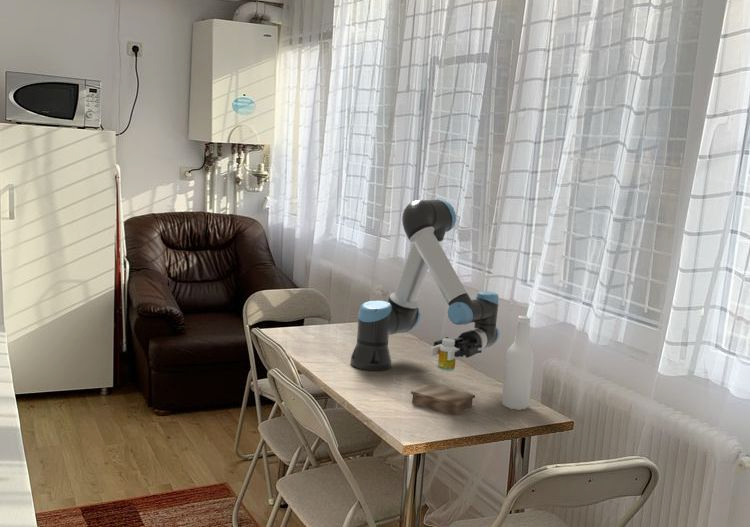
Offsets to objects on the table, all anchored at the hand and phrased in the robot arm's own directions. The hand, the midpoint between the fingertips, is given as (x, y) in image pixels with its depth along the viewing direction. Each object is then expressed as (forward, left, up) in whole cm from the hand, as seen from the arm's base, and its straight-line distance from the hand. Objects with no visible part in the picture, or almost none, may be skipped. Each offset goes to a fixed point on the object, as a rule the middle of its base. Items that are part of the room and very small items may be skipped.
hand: (440, 354), depth 246 cm
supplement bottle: (0, +5, -6) cm, 8 cm away
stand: (0, +5, -18) cm, 19 cm away
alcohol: (+18, +22, -18) cm, 34 cm away
